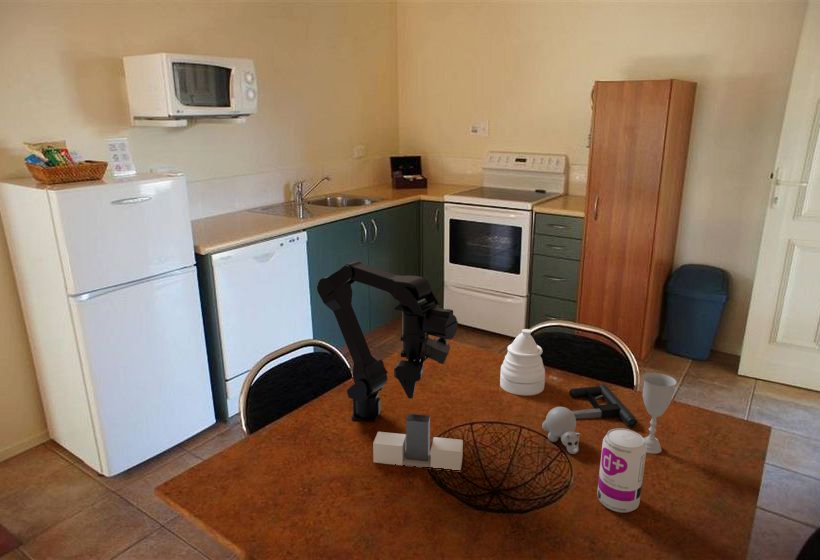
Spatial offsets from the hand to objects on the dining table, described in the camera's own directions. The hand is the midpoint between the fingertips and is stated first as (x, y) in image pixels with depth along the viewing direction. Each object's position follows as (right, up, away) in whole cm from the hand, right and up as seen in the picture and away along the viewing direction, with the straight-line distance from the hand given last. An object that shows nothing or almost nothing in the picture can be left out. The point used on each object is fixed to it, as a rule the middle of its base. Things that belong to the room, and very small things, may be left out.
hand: (414, 389), depth 140 cm
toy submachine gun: (+49, -9, +15) cm, 52 cm away
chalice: (+57, -14, -3) cm, 58 cm away
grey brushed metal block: (+1, -14, -9) cm, 16 cm away
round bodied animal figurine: (+36, -13, -1) cm, 38 cm away
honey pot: (+32, -4, +28) cm, 43 cm away
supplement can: (+42, -19, -22) cm, 51 cm away
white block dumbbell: (+1, -15, -8) cm, 17 cm away
